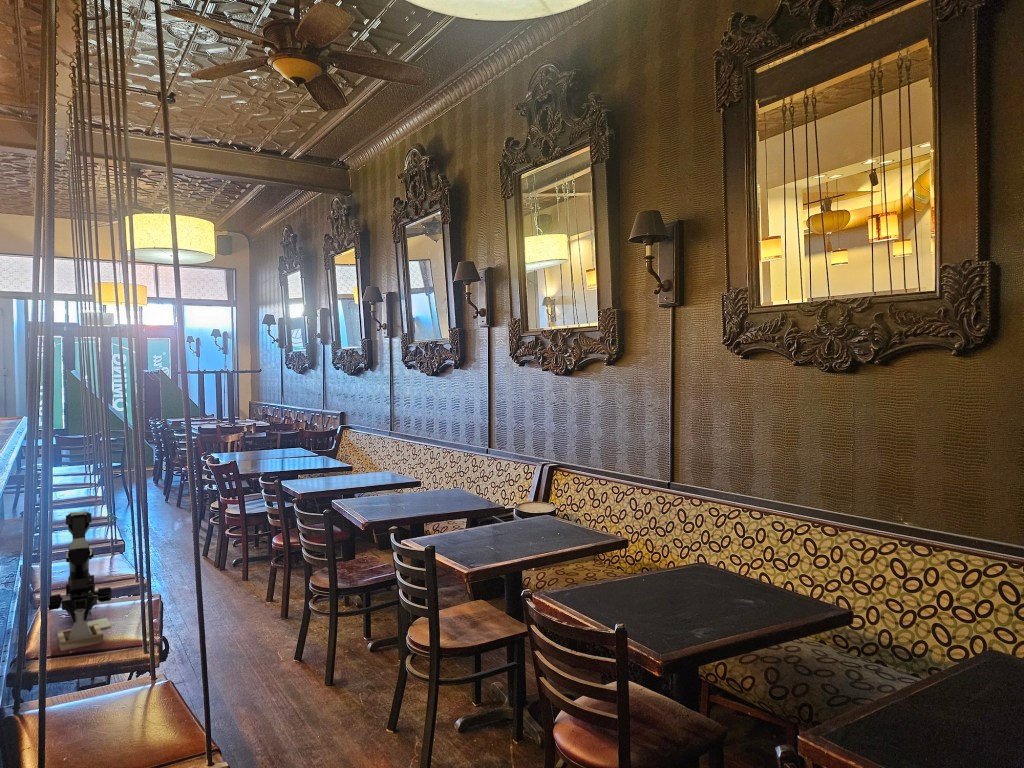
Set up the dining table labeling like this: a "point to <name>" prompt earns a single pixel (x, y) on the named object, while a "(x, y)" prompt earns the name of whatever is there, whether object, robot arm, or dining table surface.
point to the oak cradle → (80, 641)
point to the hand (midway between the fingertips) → (79, 621)
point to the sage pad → (100, 623)
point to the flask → (80, 626)
